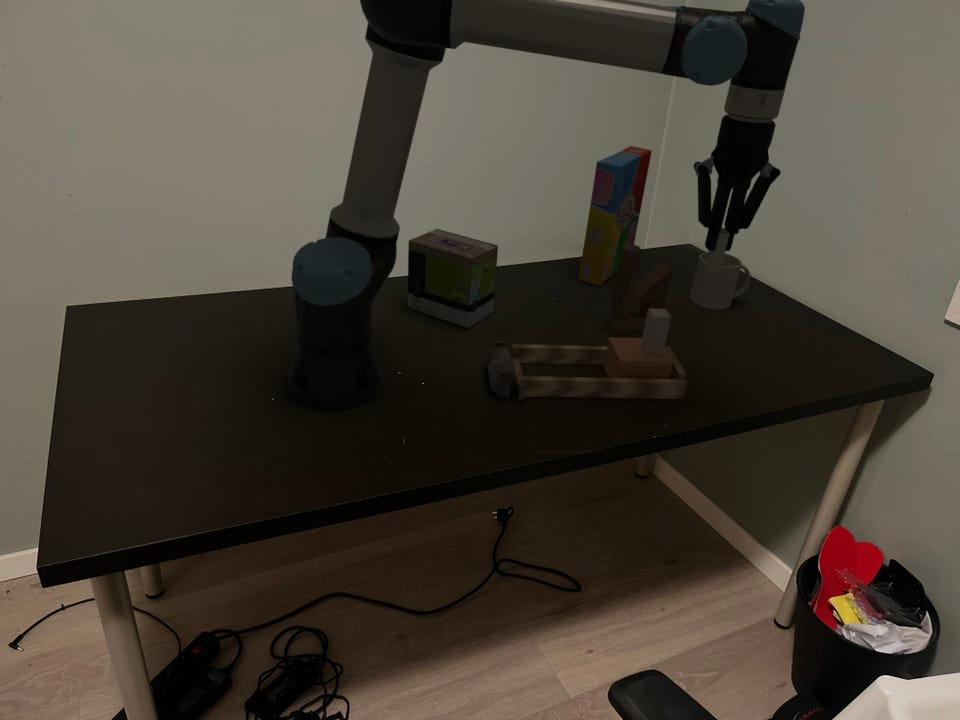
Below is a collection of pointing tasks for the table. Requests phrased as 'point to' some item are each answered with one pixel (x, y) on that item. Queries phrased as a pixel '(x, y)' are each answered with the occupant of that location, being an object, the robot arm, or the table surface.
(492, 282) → the tea box
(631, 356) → the brown block with post
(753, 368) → the table surface
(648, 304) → the brown wooden stand
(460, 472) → the table surface
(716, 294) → the mug
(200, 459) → the table surface
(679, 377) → the bay
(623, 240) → the game box
